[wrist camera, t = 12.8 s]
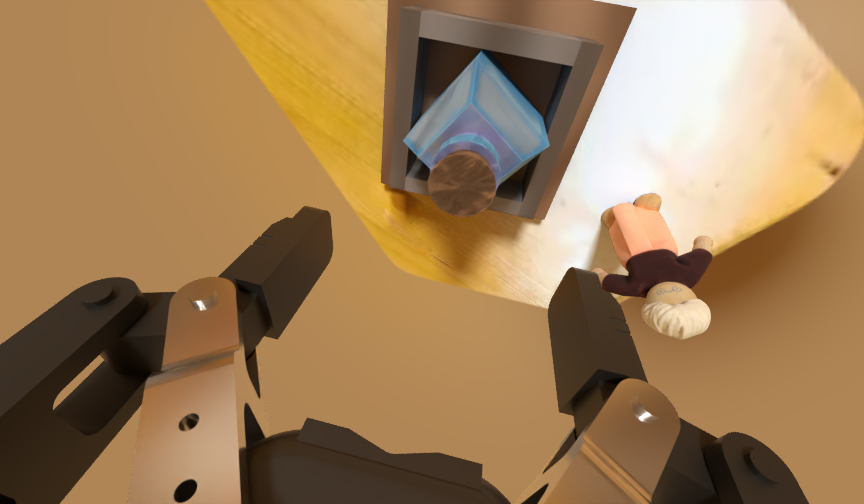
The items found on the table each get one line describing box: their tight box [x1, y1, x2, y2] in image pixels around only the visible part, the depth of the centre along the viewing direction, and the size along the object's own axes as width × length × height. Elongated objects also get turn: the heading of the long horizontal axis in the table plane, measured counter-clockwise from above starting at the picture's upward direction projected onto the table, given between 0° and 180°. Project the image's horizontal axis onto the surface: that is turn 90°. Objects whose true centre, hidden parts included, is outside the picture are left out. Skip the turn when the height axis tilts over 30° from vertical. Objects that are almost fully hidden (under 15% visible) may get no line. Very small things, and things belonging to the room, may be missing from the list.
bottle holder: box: [381, 0, 637, 219], centre depth 23 cm, size 15×15×4 cm
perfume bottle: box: [403, 49, 550, 217], centre depth 19 cm, size 6×6×12 cm
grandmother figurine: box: [591, 193, 713, 339], centre depth 23 cm, size 8×4×13 cm, turn 133°
